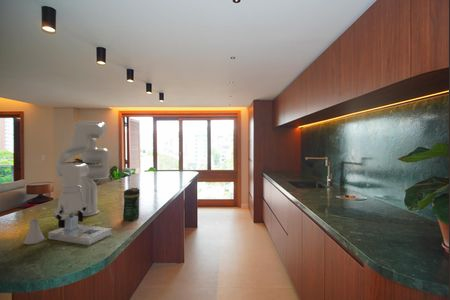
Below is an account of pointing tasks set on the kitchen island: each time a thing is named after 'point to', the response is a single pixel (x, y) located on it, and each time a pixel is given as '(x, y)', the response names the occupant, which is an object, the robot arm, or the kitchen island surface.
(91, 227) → the panel
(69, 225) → the plug
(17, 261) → the kitchen island surface
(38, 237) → the flask
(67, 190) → the robot arm
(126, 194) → the coffee jar
